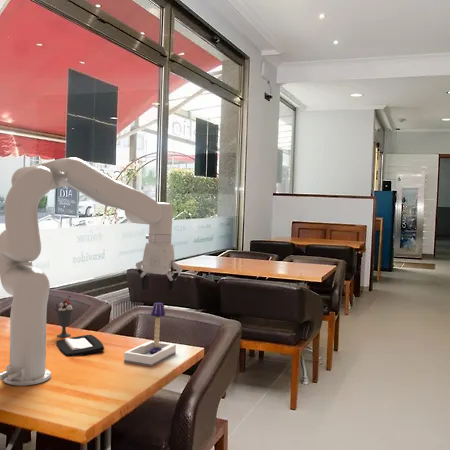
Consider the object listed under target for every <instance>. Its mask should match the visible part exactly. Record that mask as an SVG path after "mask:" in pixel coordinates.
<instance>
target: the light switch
mask: <svg viewBox="0 0 450 450" xmlns="http://www.w3.org/2000/svg"><path fill="white" fill-rule="evenodd" d="M56 346H57V348H58V350H59V351H60V352H61V353H62V354H63V355H64V356H66V357H77V356H78V357H79V356H84V355H90V354H93V353H97V352H101V351H104V350H105V347H104V344H103V343H102V341H100V339H98V338H97V337H95V336H94V335H93V334H86V335H85V334H84V335H80V336H79V335H78V336H72V337H65V338H64V339H63V338H62V339H59V340H56Z"/></svg>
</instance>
